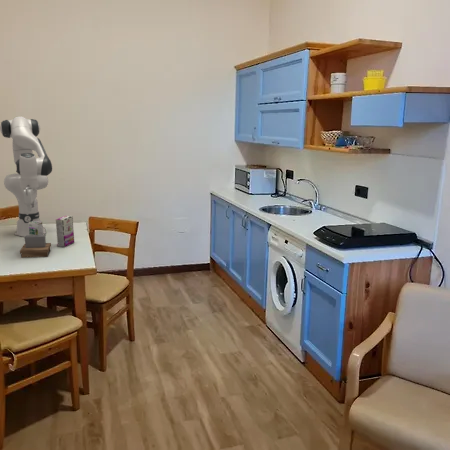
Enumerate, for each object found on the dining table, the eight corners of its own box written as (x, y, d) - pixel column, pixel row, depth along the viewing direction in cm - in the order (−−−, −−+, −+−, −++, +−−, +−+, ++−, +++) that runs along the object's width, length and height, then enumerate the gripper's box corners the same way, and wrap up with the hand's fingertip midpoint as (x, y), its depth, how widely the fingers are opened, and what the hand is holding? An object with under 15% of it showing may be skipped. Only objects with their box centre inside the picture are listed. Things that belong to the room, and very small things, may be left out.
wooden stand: (25, 250, 265) (24, 243, 264) (51, 249, 268) (50, 242, 267) (20, 257, 252) (19, 250, 251) (48, 256, 255) (47, 249, 254)
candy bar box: (66, 241, 285) (65, 215, 281) (74, 242, 284) (73, 215, 281) (56, 246, 274) (55, 219, 271) (64, 247, 273) (63, 219, 270)
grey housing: (46, 245, 262) (45, 234, 261) (45, 247, 258) (44, 236, 257) (26, 246, 260) (25, 235, 259) (25, 248, 256) (24, 237, 255)
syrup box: (29, 247, 273) (27, 222, 269) (35, 244, 278) (34, 220, 275) (37, 247, 271) (36, 223, 268) (44, 245, 277) (42, 221, 274)
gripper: (32, 187, 244) (34, 213, 247) (38, 181, 263) (39, 205, 267) (19, 187, 243) (21, 213, 246) (26, 181, 262) (27, 205, 265)
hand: (31, 209), depth 256 cm, fingers open, 8 cm apart
